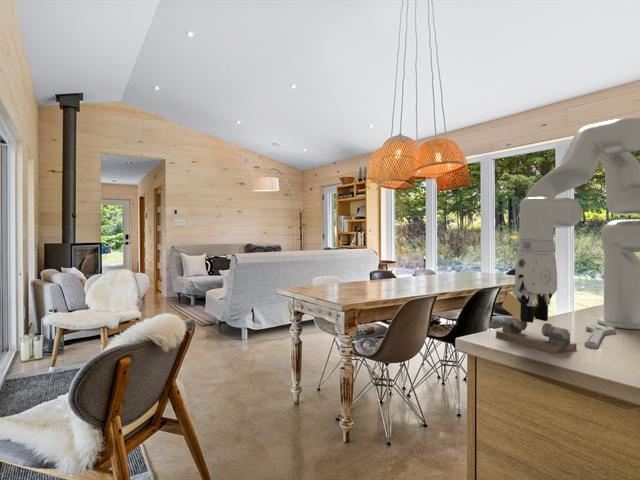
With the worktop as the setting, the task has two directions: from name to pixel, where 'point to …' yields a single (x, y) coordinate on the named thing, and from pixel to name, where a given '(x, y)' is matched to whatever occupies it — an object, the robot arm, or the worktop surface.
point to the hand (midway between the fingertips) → (534, 319)
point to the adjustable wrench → (597, 335)
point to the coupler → (516, 305)
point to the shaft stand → (536, 336)
